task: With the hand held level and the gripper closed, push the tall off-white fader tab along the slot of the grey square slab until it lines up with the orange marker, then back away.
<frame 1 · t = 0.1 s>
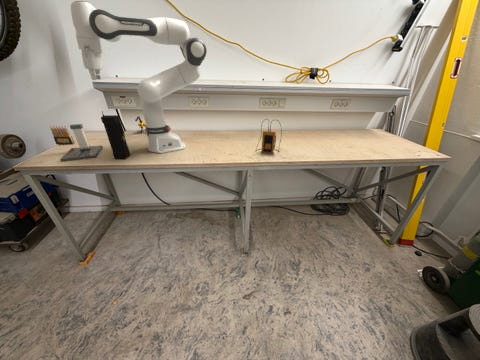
hand: (96, 79, 97), 39 cm above the workbench, tool pointing down, fingers open, 8 cm apart
ammunition clip: (65, 144, 129), on the workbench
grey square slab: (83, 154, 114), on the workbench
robot dog: (145, 133, 155), on the workbench
fader tab: (80, 136, 114), point 9 cm above the workbench, slide at 0.0 cm
multimeter: (267, 150, 123), on the workbench
portable radio: (123, 157, 111), on the workbench
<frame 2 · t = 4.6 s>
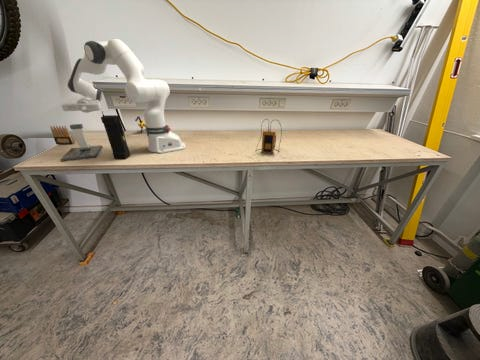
hand: (79, 108, 119), 22 cm above the workbench, tool horizontal, fingers closed
nothing on the workbench moved.
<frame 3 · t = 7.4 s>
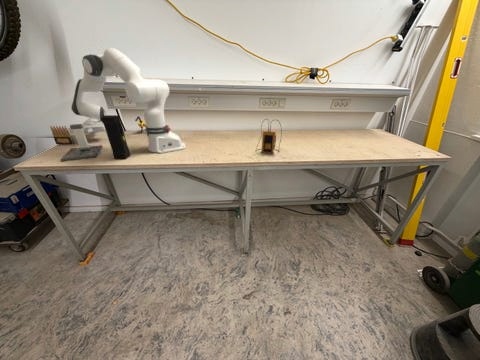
hand: (85, 131, 123), 9 cm above the workbench, tool horizontal, fingers closed
nothing on the workbench moved.
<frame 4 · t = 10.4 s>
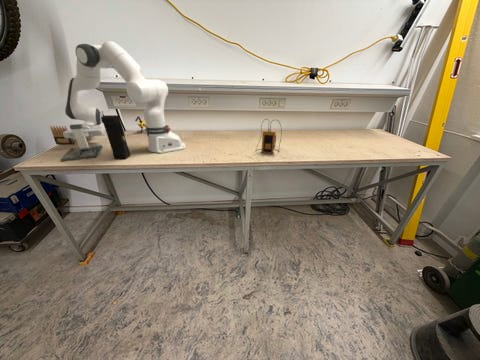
hand: (81, 136, 114), 9 cm above the workbench, tool horizontal, fingers closed, pressing on fader tab
fader tab: (80, 137, 113), point 9 cm above the workbench, slide at 0.4 cm, touching gripper
everything else where it was.
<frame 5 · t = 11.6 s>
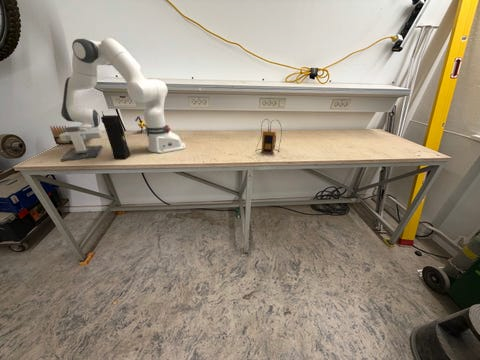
hand: (78, 139, 110), 9 cm above the workbench, tool horizontal, fingers closed, pressing on fader tab
fader tab: (77, 140, 109), point 9 cm above the workbench, slide at 6.2 cm, touching gripper
everything else where it was.
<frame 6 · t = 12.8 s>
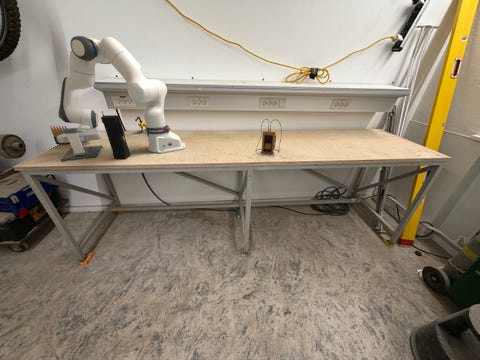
hand: (76, 140, 107), 9 cm above the workbench, tool horizontal, fingers closed, pressing on fader tab
fader tab: (75, 141, 106), point 9 cm above the workbench, slide at 9.7 cm, touching gripper
everything else where it was.
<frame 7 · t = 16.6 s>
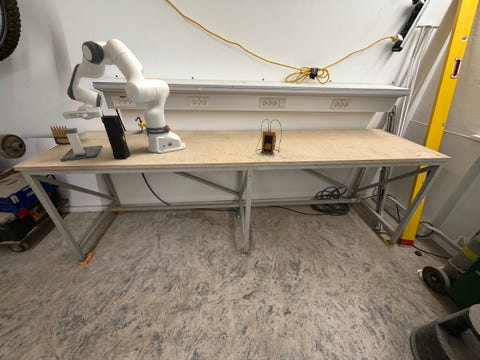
hand: (80, 116, 118), 18 cm above the workbench, tool horizontal, fingers closed
fader tab: (75, 141, 106), point 9 cm above the workbench, slide at 9.9 cm
everything else where it was.
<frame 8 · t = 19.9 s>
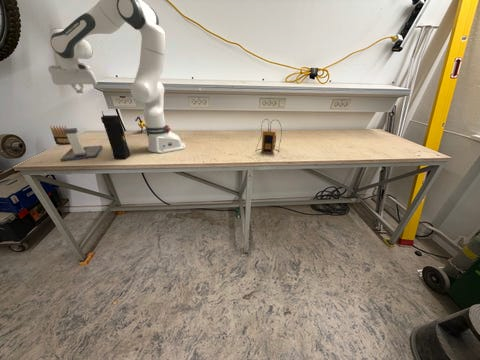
hand: (80, 93, 114), 31 cm above the workbench, tool pointing down, fingers closed
nothing on the workbench moved.
at the end: fader tab slide at 9.9 cm; the gripper is holding nothing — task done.
